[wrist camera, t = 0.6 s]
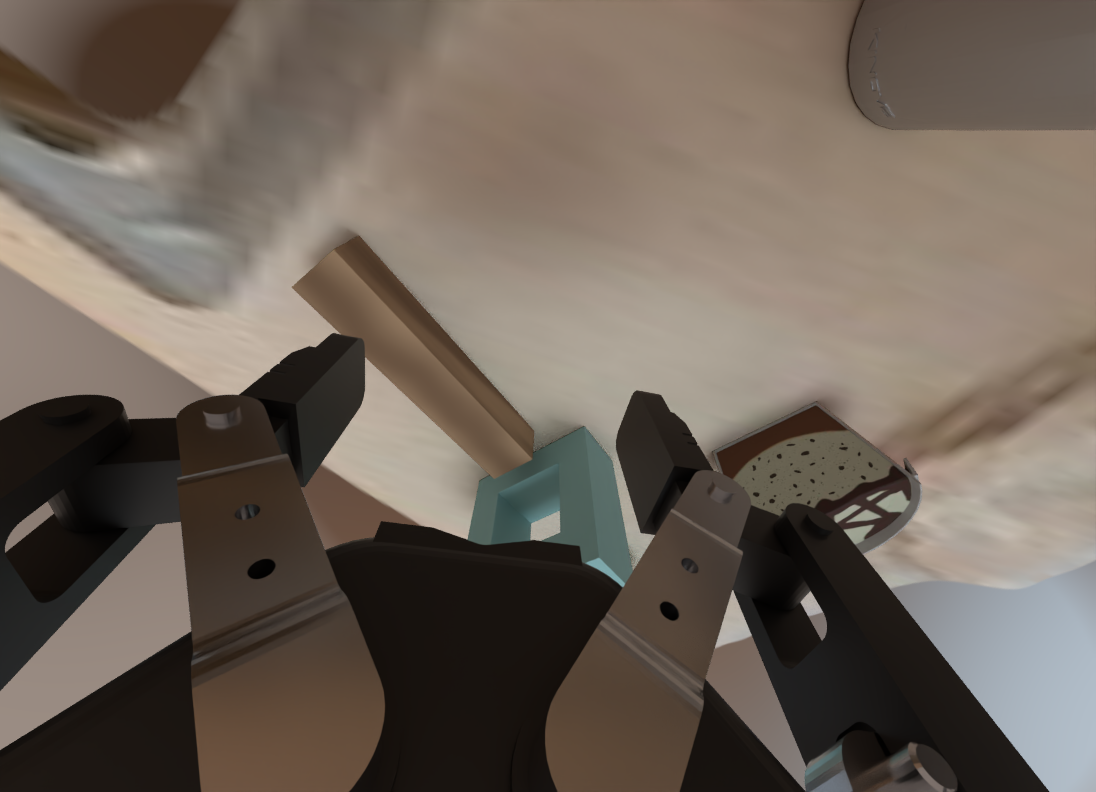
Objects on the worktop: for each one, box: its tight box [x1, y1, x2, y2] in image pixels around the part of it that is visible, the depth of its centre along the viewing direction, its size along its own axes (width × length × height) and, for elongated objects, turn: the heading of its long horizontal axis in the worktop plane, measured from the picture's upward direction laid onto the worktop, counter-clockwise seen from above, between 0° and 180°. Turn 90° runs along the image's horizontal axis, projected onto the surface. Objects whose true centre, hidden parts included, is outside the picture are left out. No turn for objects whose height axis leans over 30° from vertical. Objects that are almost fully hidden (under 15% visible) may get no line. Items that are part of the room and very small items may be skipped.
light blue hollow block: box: [468, 426, 633, 587], centre depth 33 cm, size 12×5×13 cm, turn 124°
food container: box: [712, 401, 922, 554], centre depth 32 cm, size 12×6×10 cm, turn 127°
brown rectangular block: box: [292, 236, 534, 479], centre depth 30 cm, size 4×20×4 cm, turn 34°
